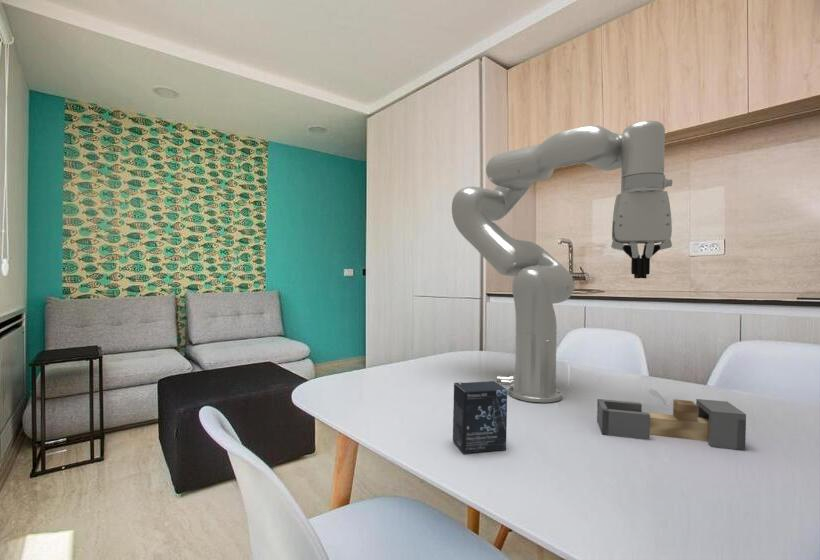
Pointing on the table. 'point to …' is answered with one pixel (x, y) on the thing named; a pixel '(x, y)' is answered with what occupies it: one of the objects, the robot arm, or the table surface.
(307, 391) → the table surface
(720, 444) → the channel bracket
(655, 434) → the slat
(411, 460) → the table surface
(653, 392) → the butter knife
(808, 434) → the table surface
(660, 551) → the table surface
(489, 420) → the box
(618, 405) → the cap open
